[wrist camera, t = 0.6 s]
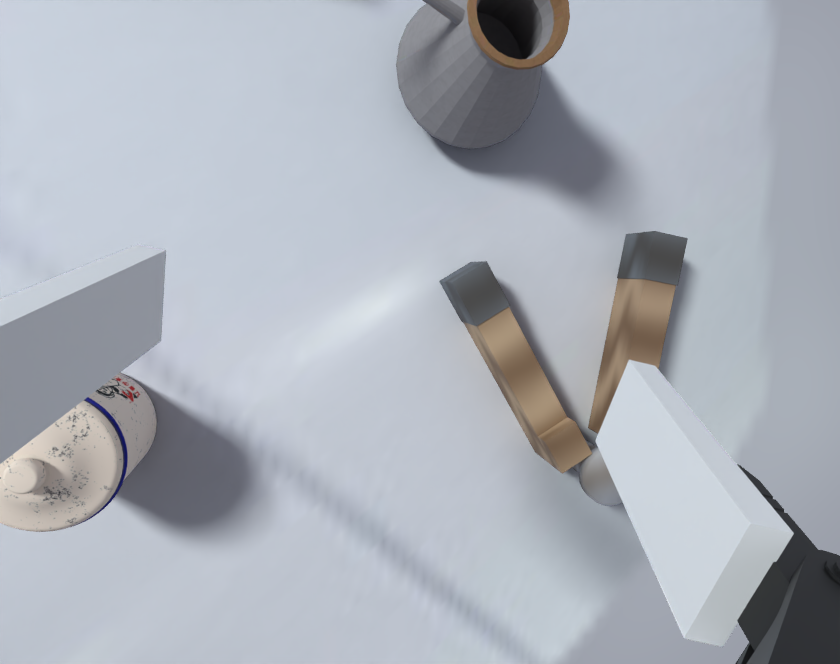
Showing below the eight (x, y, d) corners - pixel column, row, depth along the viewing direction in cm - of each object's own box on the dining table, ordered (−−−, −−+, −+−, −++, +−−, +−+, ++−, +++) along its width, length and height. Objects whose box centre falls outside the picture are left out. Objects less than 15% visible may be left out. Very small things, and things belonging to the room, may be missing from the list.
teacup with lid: (162, 365, 42) (109, 400, 31) (160, 478, 43) (109, 552, 32) (-16, 361, 40) (-144, 398, 28) (-13, 481, 40) (-136, 564, 29)
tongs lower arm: (609, 471, 51) (637, 490, 47) (561, 466, 50) (586, 485, 46) (656, 240, 50) (690, 238, 45) (608, 230, 49) (638, 226, 44)
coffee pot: (541, 40, 45) (653, -69, 31) (504, 174, 46) (596, 130, 31) (287, -66, 41) (278, -254, 26) (249, 86, 41) (219, -15, 27)
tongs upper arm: (611, 460, 51) (649, 484, 46) (558, 495, 50) (590, 524, 45) (499, 245, 47) (526, 241, 41) (439, 281, 46) (458, 282, 40)
